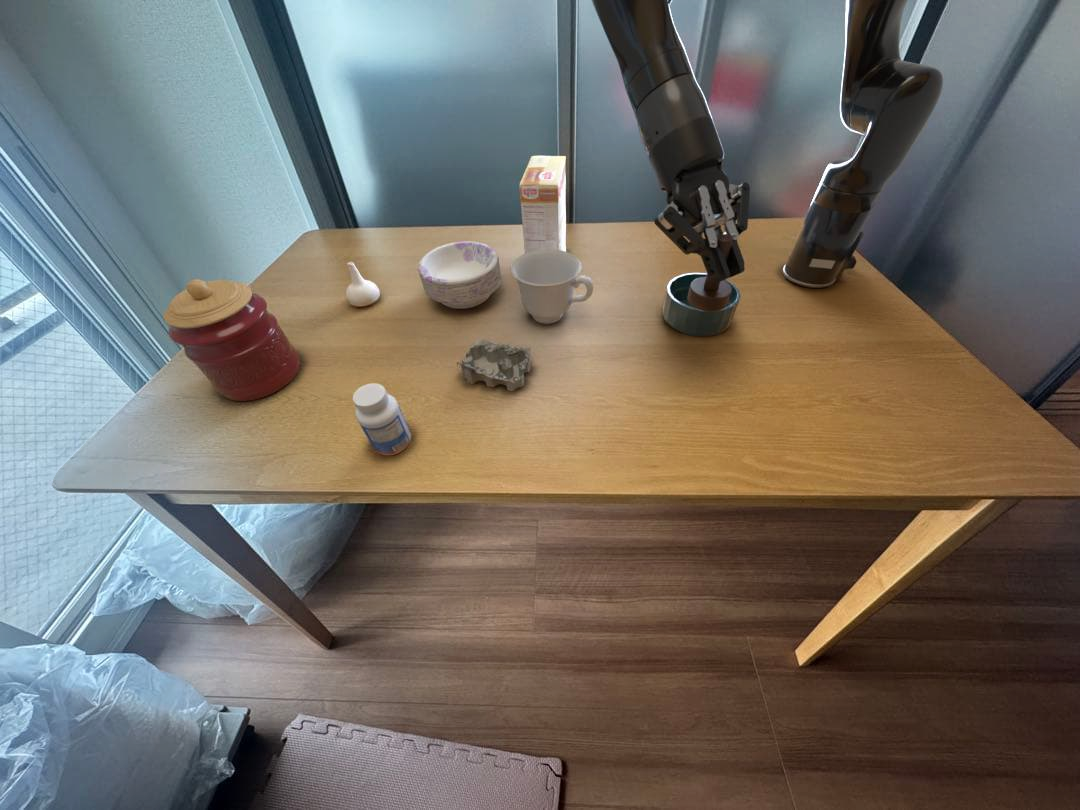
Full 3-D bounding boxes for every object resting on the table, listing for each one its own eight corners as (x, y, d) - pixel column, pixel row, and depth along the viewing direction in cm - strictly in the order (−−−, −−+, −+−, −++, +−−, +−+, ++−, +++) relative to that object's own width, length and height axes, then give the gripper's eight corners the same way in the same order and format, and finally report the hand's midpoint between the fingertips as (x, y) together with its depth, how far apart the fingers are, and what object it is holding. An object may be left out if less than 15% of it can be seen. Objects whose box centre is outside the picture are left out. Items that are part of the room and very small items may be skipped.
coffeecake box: (536, 250, 95) (530, 155, 81) (567, 251, 94) (567, 154, 80) (525, 285, 85) (517, 184, 71) (560, 287, 84) (559, 184, 70)
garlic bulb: (357, 313, 81) (341, 276, 75) (344, 301, 84) (328, 264, 78) (387, 301, 84) (373, 264, 78) (373, 288, 87) (359, 252, 81)
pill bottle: (377, 428, 61) (352, 380, 54) (414, 424, 61) (394, 376, 54) (369, 458, 57) (342, 411, 50) (409, 455, 57) (387, 407, 50)
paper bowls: (412, 310, 81) (400, 272, 75) (451, 271, 90) (444, 235, 85) (481, 325, 77) (474, 287, 71) (515, 283, 86) (512, 246, 80)
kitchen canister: (222, 363, 72) (148, 270, 59) (301, 342, 76) (246, 249, 63) (215, 413, 64) (126, 319, 51) (303, 387, 67) (241, 292, 54)
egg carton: (457, 382, 67) (452, 363, 64) (477, 353, 71) (473, 333, 68) (519, 395, 64) (517, 376, 61) (535, 364, 69) (534, 344, 66)
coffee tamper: (716, 287, 56) (735, 225, 50) (734, 308, 53) (757, 244, 47) (681, 292, 56) (695, 230, 50) (697, 314, 53) (714, 250, 46)
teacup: (573, 347, 71) (574, 297, 64) (502, 322, 77) (496, 273, 70) (604, 311, 78) (609, 262, 71) (537, 290, 84) (535, 243, 76)
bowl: (712, 295, 80) (720, 269, 76) (743, 332, 72) (753, 305, 68) (652, 303, 79) (657, 277, 75) (676, 342, 71) (683, 315, 67)
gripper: (650, 126, 43) (709, 285, 44) (745, 102, 47) (796, 249, 49) (614, 168, 50) (666, 304, 51) (700, 144, 54) (745, 271, 56)
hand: (729, 277), depth 50 cm, fingers closed on coffee tamper
